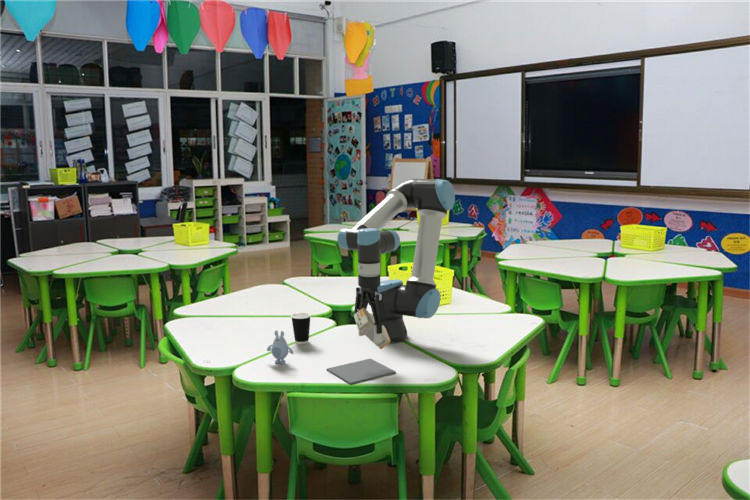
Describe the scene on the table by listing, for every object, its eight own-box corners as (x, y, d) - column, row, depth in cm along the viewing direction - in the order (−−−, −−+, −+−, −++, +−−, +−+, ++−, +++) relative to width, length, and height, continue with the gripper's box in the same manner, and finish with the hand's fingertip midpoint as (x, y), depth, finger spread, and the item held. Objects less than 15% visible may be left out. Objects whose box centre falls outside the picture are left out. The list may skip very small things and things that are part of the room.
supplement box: (375, 336, 229) (352, 314, 223) (386, 328, 229) (363, 306, 222) (380, 350, 222) (357, 329, 216) (391, 342, 222) (368, 320, 215)
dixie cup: (315, 343, 253) (314, 316, 251) (295, 346, 250) (294, 319, 248) (307, 338, 260) (306, 311, 258) (288, 341, 257) (287, 314, 255)
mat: (370, 360, 234) (370, 358, 234) (395, 373, 220) (395, 371, 220) (326, 370, 224) (326, 368, 224) (350, 384, 211) (350, 382, 211)
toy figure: (263, 364, 231) (261, 331, 229) (271, 358, 237) (270, 326, 235) (289, 367, 227) (288, 334, 225) (297, 361, 233) (296, 329, 231)
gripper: (343, 270, 226) (344, 332, 229) (377, 281, 208) (378, 349, 211) (361, 268, 230) (362, 329, 233) (396, 278, 212) (397, 344, 215)
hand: (370, 338), depth 222 cm, fingers closed on supplement box, 9 cm apart
